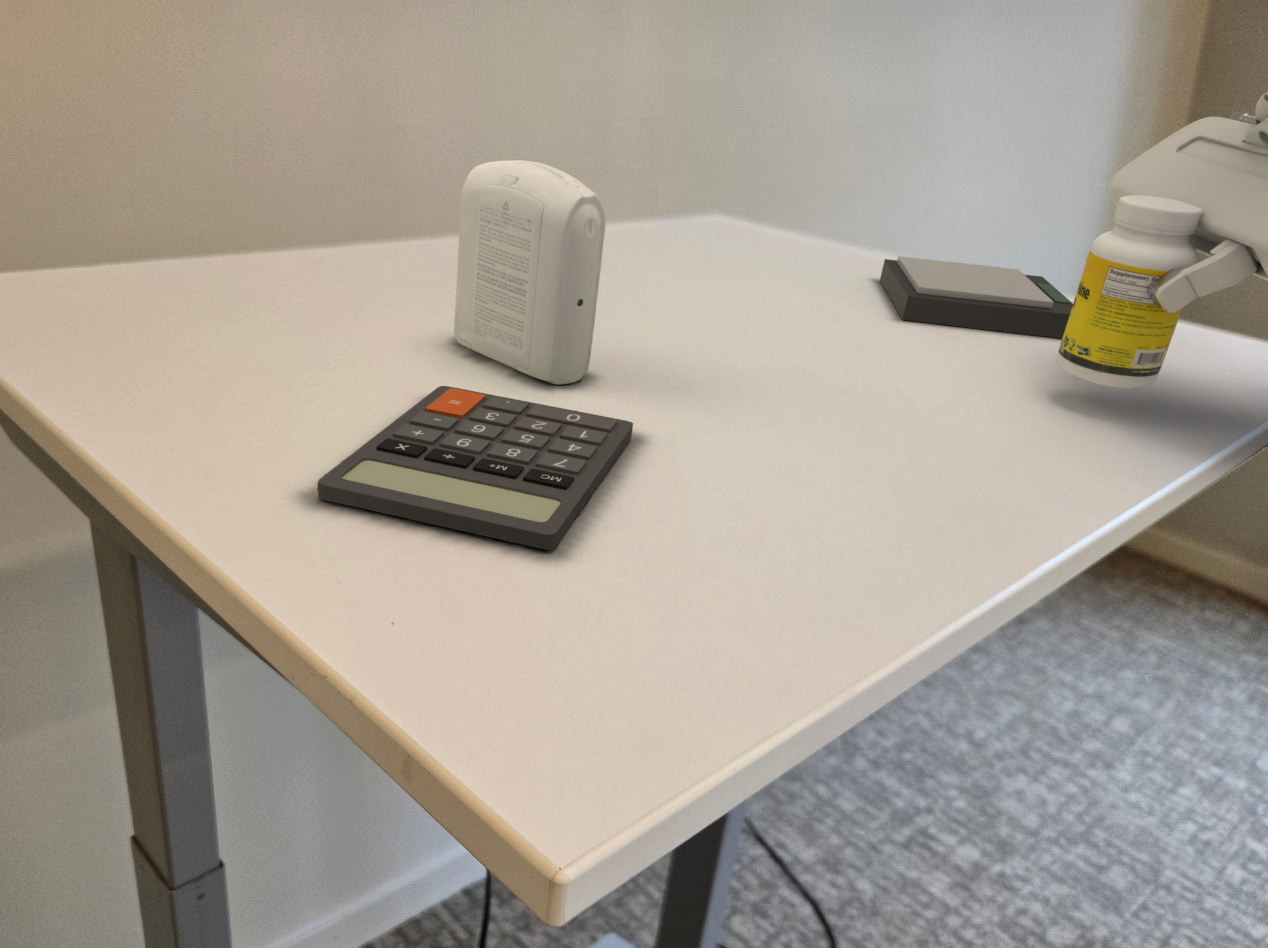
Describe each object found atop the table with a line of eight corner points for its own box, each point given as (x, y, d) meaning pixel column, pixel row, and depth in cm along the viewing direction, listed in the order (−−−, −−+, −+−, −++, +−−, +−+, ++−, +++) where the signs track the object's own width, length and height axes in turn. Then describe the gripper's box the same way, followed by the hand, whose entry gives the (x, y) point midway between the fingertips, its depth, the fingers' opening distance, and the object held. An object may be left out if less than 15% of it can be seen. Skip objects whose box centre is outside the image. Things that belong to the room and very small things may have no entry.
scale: (1036, 298, 97) (1044, 269, 96) (1079, 340, 86) (1090, 308, 85) (879, 280, 98) (886, 252, 97) (902, 320, 87) (909, 288, 86)
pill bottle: (1065, 352, 75) (1117, 188, 70) (1161, 375, 72) (1223, 205, 67) (1043, 373, 70) (1097, 199, 65) (1145, 398, 67) (1211, 218, 62)
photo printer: (599, 378, 69) (621, 176, 63) (552, 391, 66) (570, 181, 60) (491, 334, 75) (502, 147, 69) (444, 344, 72) (451, 150, 66)
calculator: (635, 419, 60) (553, 532, 47) (633, 434, 60) (552, 551, 47) (441, 381, 62) (314, 479, 50) (440, 396, 63) (314, 497, 50)
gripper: (1209, 72, 72) (1027, 211, 76) (1451, 113, 54) (1197, 292, 58) (1246, 147, 75) (1068, 278, 78) (1488, 209, 57) (1242, 375, 61)
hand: (1124, 285), depth 68 cm, fingers closed on pill bottle, 6 cm apart
